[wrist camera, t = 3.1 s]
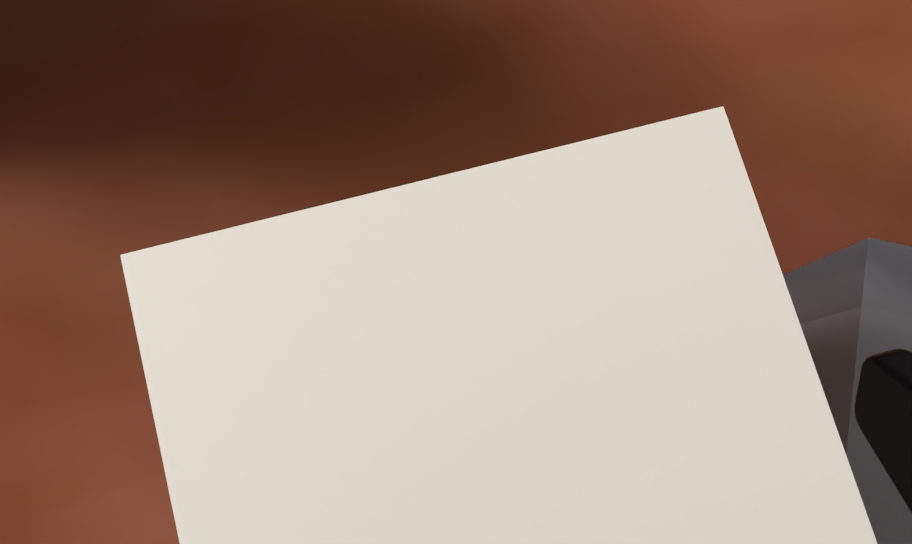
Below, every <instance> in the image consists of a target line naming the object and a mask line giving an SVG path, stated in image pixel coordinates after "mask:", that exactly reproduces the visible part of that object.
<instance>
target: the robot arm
mask: <svg viewBox="0 0 912 544" xmlns="http://www.w3.org/2000/svg"><path fill="white" fill-rule="evenodd" d="M855 416H856V420H857V423H858V425H859V427H860V429H861V431H862V433H863V434H864V436H865V437H866V439H867V441H868V442H869V444H870V446H871V447H872V449H873V451H874V452H875V454H876V455H877V457H878V459H879V460H880V462H881V464H882V465H883V467H884V469H885V470H886V472H887V474H888V475H889V477H890V478H891V480H892V482H893V483H894V485H895V487H896V488H897V490H898V492H899V493H900V495H901V496H902V498H903V500H904V501H905V503H906V505H907V506H908V508H909V510H910V511H911V513H912V352H911V351H908V350H905V349H893V350H889V351H886V352H882V353H879V354H875V355H872V356H869V357H868V358H866V360H865V361H864V362H863V364H862V368H861V373H860V379H859V384H858V390H857V395H856V401H855Z"/></svg>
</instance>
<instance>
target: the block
mask: <svg viewBox="0 0 912 544" xmlns="http://www.w3.org/2000/svg"><path fill="white" fill-rule="evenodd" d="M120 256H121V261H122V266H123V271H124V276H125V280H126V285H127V290H128V295H129V300H130V305H131V309H132V314H133V319H134V324H135V329H136V334H137V339H138V343H139V348H140V353H141V358H142V363H143V368H144V372H145V377H146V382H147V387H148V392H149V397H150V402H151V406H152V411H153V416H154V421H155V426H156V431H157V436H158V440H159V445H160V450H161V455H162V460H163V465H164V469H165V474H166V479H167V484H168V489H169V494H170V499H171V503H172V508H173V513H174V518H175V523H176V528H177V532H178V537H179V542H180V544H877V541H876V538H875V535H874V533H873V530H872V527H871V524H870V521H869V518H868V516H867V513H866V510H865V507H864V504H863V501H862V499H861V496H860V493H859V490H858V487H857V484H856V482H855V479H854V476H853V473H852V470H851V467H850V465H849V462H848V459H847V456H846V453H845V450H844V447H843V445H842V442H841V439H840V436H839V433H838V430H837V428H836V425H835V422H834V419H833V416H832V413H831V411H830V408H829V405H828V402H827V399H826V396H825V394H824V391H823V388H822V385H821V382H820V379H819V377H818V374H817V371H816V368H815V365H814V362H813V360H812V357H811V354H810V351H809V348H808V345H807V343H806V340H805V337H804V334H803V331H802V328H801V325H800V323H799V320H798V317H797V314H796V311H795V308H794V306H793V303H792V300H791V297H790V294H789V291H788V289H787V286H786V283H785V280H784V277H783V274H782V272H781V269H780V266H779V263H778V260H777V257H776V255H775V252H774V249H773V246H772V243H771V240H770V238H769V235H768V232H767V229H766V226H765V223H764V220H763V218H762V215H761V212H760V209H759V206H758V203H757V201H756V198H755V195H754V192H753V189H752V186H751V184H750V181H749V178H748V175H747V172H746V169H745V167H744V164H743V161H742V158H741V155H740V152H739V150H738V147H737V144H736V141H735V138H734V135H733V133H732V130H731V127H730V124H729V121H728V118H727V115H726V113H725V110H724V107H723V106H722V107H718V108H714V109H710V110H706V111H702V112H698V113H694V114H690V115H686V116H682V117H677V118H673V119H669V120H665V121H661V122H657V123H653V124H649V125H645V126H641V127H637V128H633V129H629V130H625V131H621V132H617V133H613V134H609V135H604V136H600V137H596V138H592V139H588V140H584V141H580V142H576V143H572V144H568V145H564V146H560V147H556V148H552V149H548V150H544V151H540V152H536V153H532V154H527V155H523V156H519V157H515V158H511V159H507V160H503V161H499V162H495V163H491V164H487V165H483V166H479V167H475V168H471V169H467V170H463V171H459V172H454V173H450V174H446V175H442V176H438V177H434V178H430V179H426V180H422V181H418V182H414V183H410V184H406V185H402V186H398V187H394V188H390V189H386V190H381V191H377V192H373V193H369V194H365V195H361V196H357V197H353V198H349V199H345V200H341V201H337V202H333V203H329V204H325V205H321V206H317V207H313V208H309V209H304V210H300V211H296V212H292V213H288V214H284V215H280V216H276V217H272V218H268V219H264V220H260V221H256V222H252V223H248V224H244V225H240V226H236V227H231V228H227V229H223V230H219V231H215V232H211V233H207V234H203V235H199V236H195V237H191V238H187V239H183V240H179V241H175V242H171V243H167V244H163V245H159V246H154V247H150V248H146V249H142V250H138V251H134V252H130V253H126V254H122V255H120Z"/></svg>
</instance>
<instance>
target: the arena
mask: <svg viewBox="0 0 912 544" xmlns="http://www.w3.org/2000/svg"><path fill="white" fill-rule="evenodd" d="M783 277H784V280H785V283H786V286H787V289H788V291H789V294H790V297H791V300H792V303H793V306H794V308H795V311H796V314H797V317H798V320H799V323H800V325H801V328H802V331H803V334H804V337H805V340H806V343H807V345H808V348H809V351H810V354H811V357H812V360H813V362H814V365H815V368H816V371H817V374H818V377H819V379H820V382H821V385H822V388H823V391H824V394H825V396H826V399H827V402H828V405H829V408H830V411H831V413H832V416H833V419H834V422H835V425H836V428H837V430H838V433H839V436H840V439H841V442H842V445H843V447H844V450H845V453H846V456H847V459H848V462H849V465H850V467H851V470H852V473H853V476H854V479H855V482H856V484H857V487H858V490H859V493H860V496H861V499H862V501H863V504H864V507H865V510H866V513H867V516H868V518H869V521H870V524H871V527H872V530H873V533H874V535H875V538H876V541H877V544H912V513H911V511H910V510H909V508H908V506H907V505H906V503H905V501H904V500H903V498H902V496H901V495H900V493H899V492H898V490H897V488H896V487H895V485H894V483H893V482H892V480H891V478H890V477H889V475H888V474H887V472H886V470H885V469H884V467H883V465H882V464H881V462H880V460H879V459H878V457H877V455H876V454H875V452H874V451H873V449H872V447H871V446H870V444H869V442H868V441H867V439H866V437H865V436H864V434H863V433H862V431H861V429H860V427H859V425H858V423H857V420H856V416H855V401H856V395H857V390H858V384H859V379H860V373H861V368H862V364H863V362H864V361H865V360H866V358H868V357H869V356H872V355H875V354H879V353H882V352H886V351H889V350H893V349H905V350H908V351H911V352H912V247H911V246H906V245H901V244H897V243H892V242H887V241H883V240H878V239H873V238H866V239H864V240H862V241H860V242H857V243H855V244H853V245H850V246H848V247H846V248H844V249H841V250H839V251H837V252H834V253H832V254H830V255H828V256H825V257H823V258H821V259H818V260H816V261H814V262H812V263H809V264H807V265H805V266H802V267H800V268H798V269H796V270H793V271H791V272H789V273H786V274H784V275H783Z"/></svg>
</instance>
